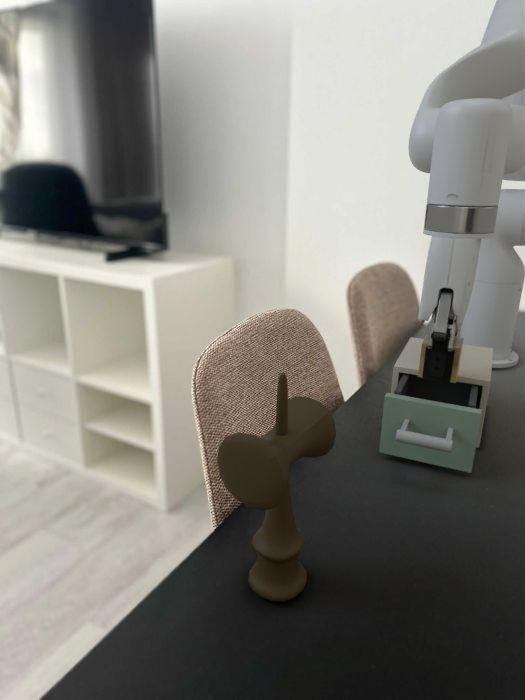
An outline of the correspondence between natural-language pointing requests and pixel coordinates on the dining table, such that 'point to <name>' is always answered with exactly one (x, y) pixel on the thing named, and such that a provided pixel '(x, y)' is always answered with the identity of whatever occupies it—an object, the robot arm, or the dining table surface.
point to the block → (456, 363)
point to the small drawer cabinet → (471, 371)
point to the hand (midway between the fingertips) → (438, 371)
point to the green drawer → (431, 422)
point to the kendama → (276, 487)
